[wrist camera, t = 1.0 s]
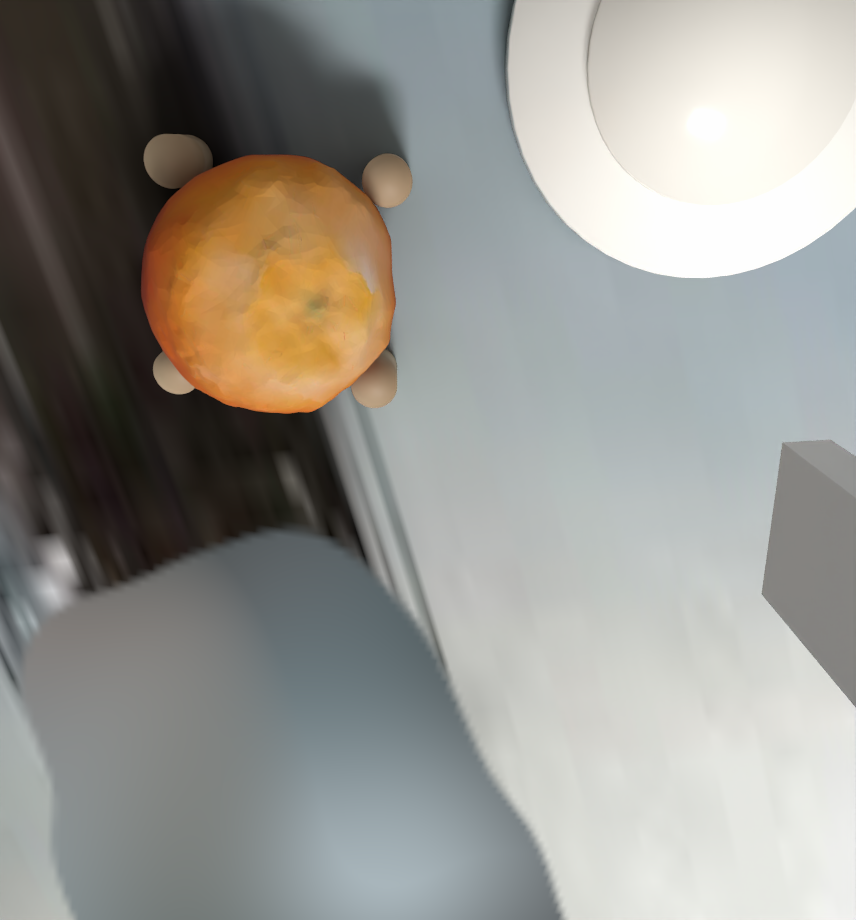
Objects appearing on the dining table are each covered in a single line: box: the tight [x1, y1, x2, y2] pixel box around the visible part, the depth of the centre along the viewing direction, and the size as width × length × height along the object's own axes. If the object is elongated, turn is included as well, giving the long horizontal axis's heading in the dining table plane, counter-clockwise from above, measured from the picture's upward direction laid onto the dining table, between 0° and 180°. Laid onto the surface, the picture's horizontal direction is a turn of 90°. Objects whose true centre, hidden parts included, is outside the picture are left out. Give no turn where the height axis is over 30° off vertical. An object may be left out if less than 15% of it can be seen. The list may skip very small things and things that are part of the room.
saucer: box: [505, 0, 856, 278], centre depth 26 cm, size 14×14×1 cm
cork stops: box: [144, 134, 412, 408], centre depth 27 cm, size 8×8×2 cm
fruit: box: [141, 155, 396, 413], centre depth 26 cm, size 8×8×8 cm
